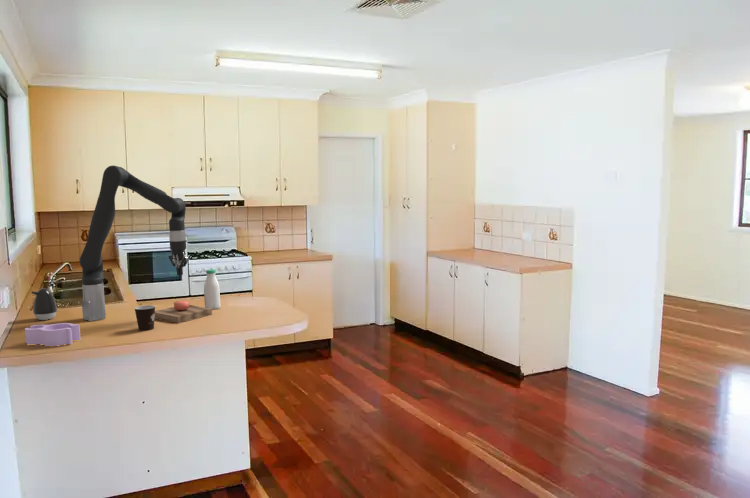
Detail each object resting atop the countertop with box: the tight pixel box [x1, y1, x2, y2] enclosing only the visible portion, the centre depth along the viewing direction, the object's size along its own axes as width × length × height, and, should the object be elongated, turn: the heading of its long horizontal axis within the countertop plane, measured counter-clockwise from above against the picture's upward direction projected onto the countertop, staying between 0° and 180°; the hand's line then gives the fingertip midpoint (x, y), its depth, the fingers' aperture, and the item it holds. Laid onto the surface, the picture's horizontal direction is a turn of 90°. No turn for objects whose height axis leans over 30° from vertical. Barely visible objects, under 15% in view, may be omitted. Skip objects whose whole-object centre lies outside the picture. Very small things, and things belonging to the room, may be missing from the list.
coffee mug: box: [134, 304, 156, 332], centre depth 274 cm, size 12×9×10 cm
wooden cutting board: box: [154, 304, 213, 324], centre depth 297 cm, size 20×20×3 cm
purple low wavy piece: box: [24, 322, 81, 347], centre depth 253 cm, size 20×12×7 cm, turn 89°
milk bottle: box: [203, 268, 221, 310], centre depth 313 cm, size 8×8×20 cm
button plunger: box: [173, 300, 190, 310], centre depth 297 cm, size 7×7×3 cm
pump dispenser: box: [31, 287, 58, 321], centre depth 295 cm, size 10×10×15 cm
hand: (179, 275), depth 295 cm, fingers closed
